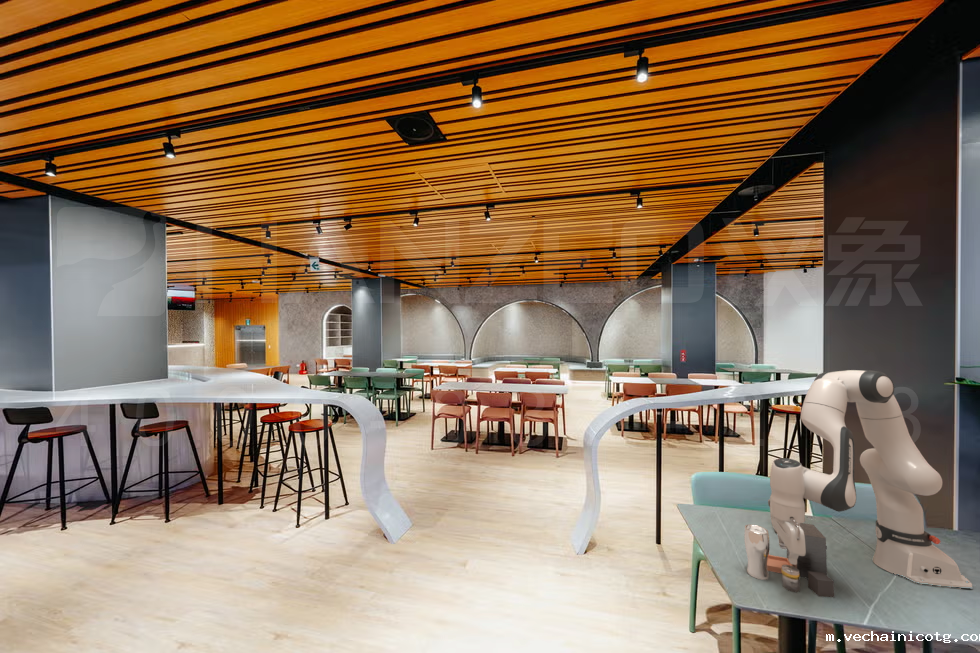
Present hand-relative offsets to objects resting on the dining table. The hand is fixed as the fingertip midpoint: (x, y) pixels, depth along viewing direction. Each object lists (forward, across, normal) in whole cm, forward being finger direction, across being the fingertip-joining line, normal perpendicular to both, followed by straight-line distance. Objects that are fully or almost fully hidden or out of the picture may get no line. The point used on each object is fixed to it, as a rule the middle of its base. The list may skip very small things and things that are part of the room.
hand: (787, 555), depth 122 cm
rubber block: (+10, +1, -9) cm, 13 cm away
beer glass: (+10, +4, +7) cm, 13 cm away
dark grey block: (+10, +13, -9) cm, 18 cm away
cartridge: (+10, 0, -1) cm, 10 cm away
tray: (+10, +12, 0) cm, 16 cm away
